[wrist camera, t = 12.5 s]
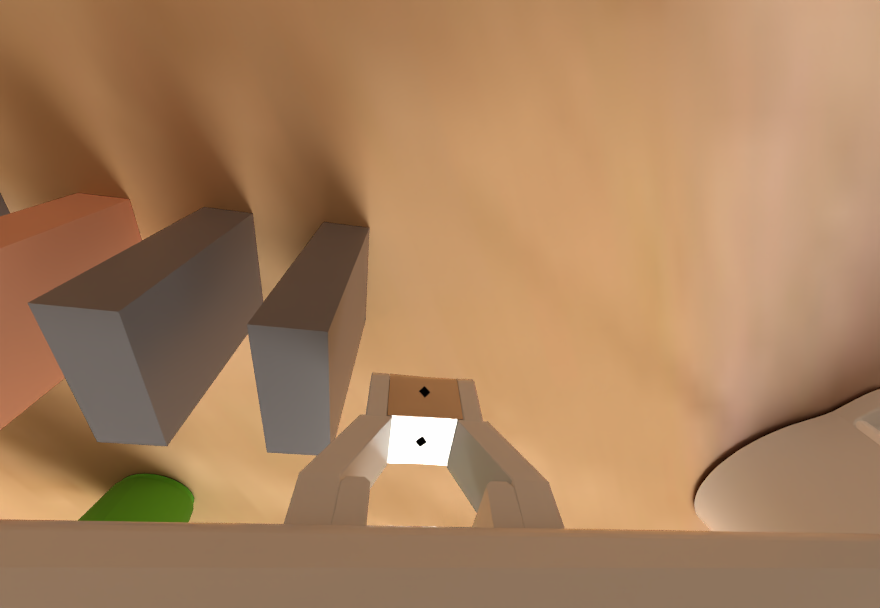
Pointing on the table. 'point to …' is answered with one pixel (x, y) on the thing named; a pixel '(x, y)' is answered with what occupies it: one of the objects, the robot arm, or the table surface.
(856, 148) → the table surface
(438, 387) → the robot arm
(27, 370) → the domino
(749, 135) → the table surface
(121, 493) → the cup
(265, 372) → the domino
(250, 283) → the domino
